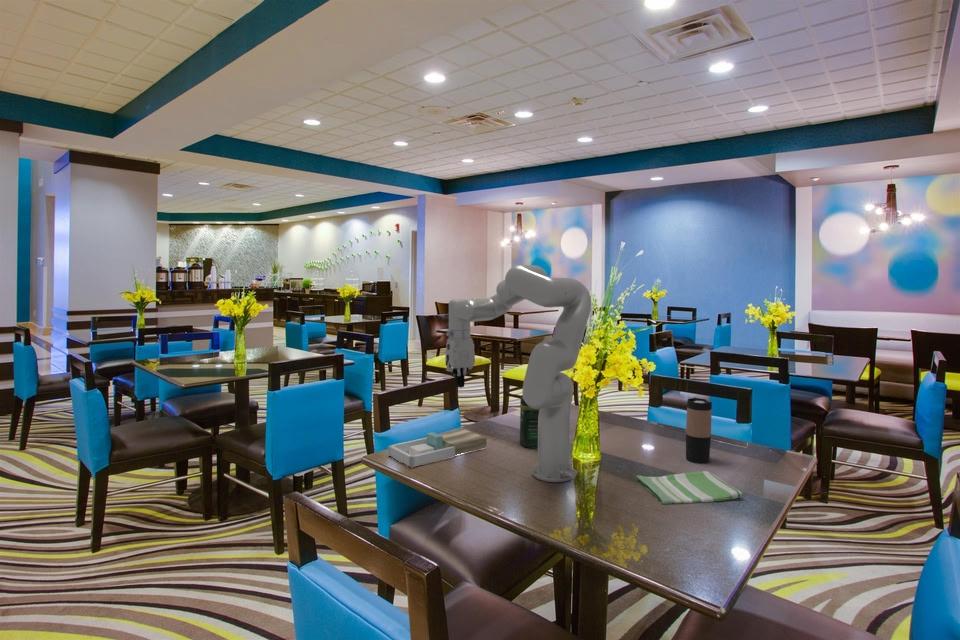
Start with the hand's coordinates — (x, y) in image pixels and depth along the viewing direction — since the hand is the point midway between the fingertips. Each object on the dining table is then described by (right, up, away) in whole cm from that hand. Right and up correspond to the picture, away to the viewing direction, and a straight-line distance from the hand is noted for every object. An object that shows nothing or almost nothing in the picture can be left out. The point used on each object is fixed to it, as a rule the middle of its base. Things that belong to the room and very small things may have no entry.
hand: (459, 386), depth 183 cm
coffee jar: (+26, -22, +6) cm, 34 cm away
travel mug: (+79, -23, -10) cm, 83 cm away
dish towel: (+66, -26, -35) cm, 79 cm away
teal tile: (-7, -19, -4) cm, 21 cm away
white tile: (-13, -20, -8) cm, 24 cm away
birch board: (0, -22, +2) cm, 22 cm away
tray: (-13, -23, -8) cm, 27 cm away
